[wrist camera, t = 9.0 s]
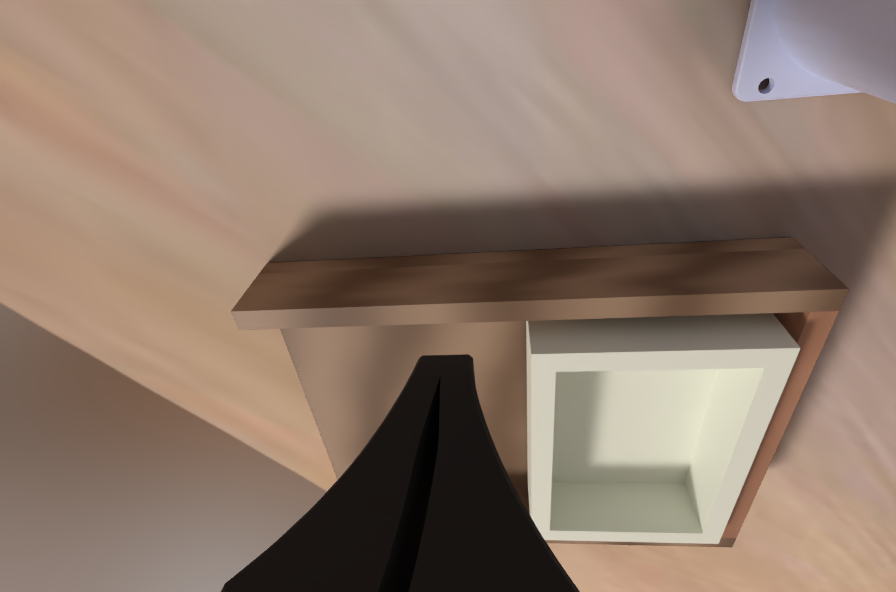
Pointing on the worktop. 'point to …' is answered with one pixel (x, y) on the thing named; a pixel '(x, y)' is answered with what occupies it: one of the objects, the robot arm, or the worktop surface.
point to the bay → (520, 326)
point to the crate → (648, 422)
